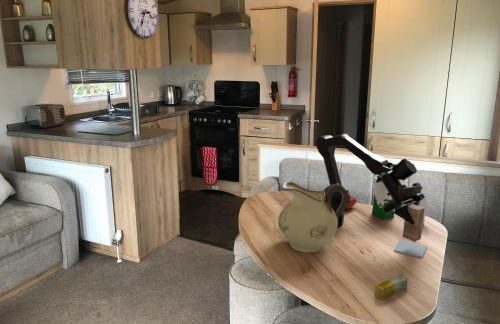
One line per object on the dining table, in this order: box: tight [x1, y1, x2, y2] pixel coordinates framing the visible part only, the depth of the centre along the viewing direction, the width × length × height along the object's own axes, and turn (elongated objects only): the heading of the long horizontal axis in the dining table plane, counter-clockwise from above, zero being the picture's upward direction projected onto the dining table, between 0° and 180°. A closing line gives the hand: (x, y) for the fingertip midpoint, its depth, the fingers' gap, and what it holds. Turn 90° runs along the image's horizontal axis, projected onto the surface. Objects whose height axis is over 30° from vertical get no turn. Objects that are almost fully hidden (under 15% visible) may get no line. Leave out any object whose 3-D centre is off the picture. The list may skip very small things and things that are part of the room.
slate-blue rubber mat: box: [393, 239, 428, 259], centre depth 149 cm, size 10×10×1 cm
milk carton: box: [371, 173, 395, 220], centre depth 178 cm, size 9×9×20 cm
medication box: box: [374, 274, 408, 301], centre depth 122 cm, size 12×3×4 cm, turn 120°
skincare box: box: [419, 197, 427, 225], centre depth 172 cm, size 6×4×12 cm
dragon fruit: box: [344, 193, 357, 211], centre depth 189 cm, size 8×8×12 cm
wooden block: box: [402, 204, 426, 243], centre depth 146 cm, size 4×5×12 cm
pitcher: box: [277, 181, 348, 254], centre depth 150 cm, size 22×24×25 cm
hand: (416, 223), depth 145 cm, fingers closed on wooden block, 4 cm apart
